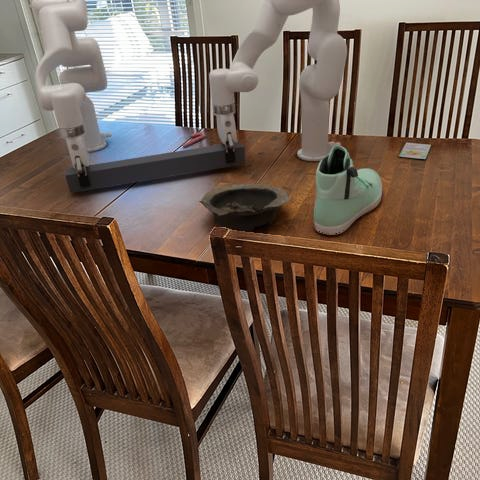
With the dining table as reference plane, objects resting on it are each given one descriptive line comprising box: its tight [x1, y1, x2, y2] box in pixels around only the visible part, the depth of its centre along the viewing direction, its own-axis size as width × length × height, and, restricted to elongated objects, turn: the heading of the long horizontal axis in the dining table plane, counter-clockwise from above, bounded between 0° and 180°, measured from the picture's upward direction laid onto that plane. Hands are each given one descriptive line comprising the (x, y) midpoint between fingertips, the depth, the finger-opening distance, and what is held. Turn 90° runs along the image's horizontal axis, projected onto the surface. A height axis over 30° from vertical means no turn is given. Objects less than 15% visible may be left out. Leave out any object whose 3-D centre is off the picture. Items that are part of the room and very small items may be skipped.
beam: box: [64, 140, 246, 194], centre depth 163 cm, size 60×6×6 cm, turn 104°
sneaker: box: [313, 145, 383, 236], centre depth 133 cm, size 14×35×20 cm, turn 152°
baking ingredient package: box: [398, 142, 432, 160], centre depth 172 cm, size 9×1×15 cm
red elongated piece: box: [182, 132, 206, 148], centre depth 197 cm, size 6×15×2 cm, turn 145°
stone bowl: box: [198, 183, 290, 233], centre depth 135 cm, size 25×25×9 cm
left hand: (85, 182), depth 160 cm, fingers closed on beam, 5 cm apart
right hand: (228, 158), depth 168 cm, fingers closed on beam, 5 cm apart
